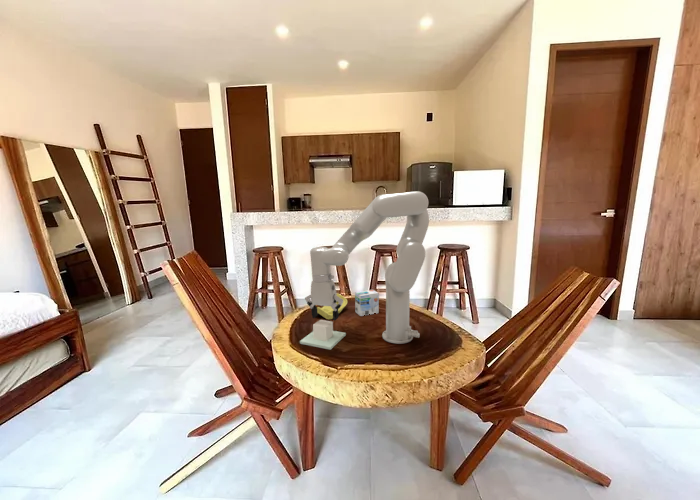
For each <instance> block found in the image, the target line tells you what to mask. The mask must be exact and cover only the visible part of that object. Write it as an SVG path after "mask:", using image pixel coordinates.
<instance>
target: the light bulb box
mask: <svg viewBox="0 0 700 500" xmlns="http://www.w3.org/2000/svg"><path fill="white" fill-rule="evenodd" d="M379 294H380V293H379V292H377V291H376V290H375V289H367V290H361V291H356V292H354V303H355V304H354V307H355V309H354V310H355V313H356V314H357V315H358V316H360V317H363V316H364V315H365V316H370V315H375V314H374V313H376V314H379V313H380V312H379V308H380V307H379V297H380V296H379ZM369 314H370V315H369Z"/></svg>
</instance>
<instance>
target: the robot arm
mask: <svg viewBox="0 0 700 500" xmlns="http://www.w3.org/2000/svg"><path fill="white" fill-rule="evenodd" d="M429 203H430V202H429V199H428V196H427V195H426V194H425V193H424V192H422V191H419V190H417V191H416V190H415V191H407V192H406V191H405V192H400V193H399V192H397V193H383V194H379V195H377V196H376V197H375V198H374V199H372V201H371V202H370V203H369V205H367V206H366V208H365V209H364V210H363V211H362V212H361V214H360V215H358V217H357V218H356V219H355V220H354V221H353V222H352V224H351V225H350V226H349V228H348V229H347V230H346V231H345V232H344V233H343V234H342V235H341V236H340V237H339V239H337V241H336V242H335V243H334V244H333V245H332V247H331V248H328V247H326V246H317V247H315V246H314V247H312V248H311V249H310V251H309V255H310V264H311V265H310V266H311V275H312V280H311V283H310V294H309V295H307V296H305V297H304V300H305V301H306V304H307V305H308V307H309V309H310V310H311V316H312V319H315V318H316V317H318V316H319V314H318V313H317V307H318V306H319V307H320V306H321V307H324V306H331V307H332V309H333V310H334V311H333V319H332V320H333V322H335V321H337V319H339V317H340V316H339V314H340V313H339V314H338V309H339V308H340V307H341V306H342V303H343V299H341V298H340V297H338V296H337V288H336V284H335V282H334V281H335V280H334V278H335V276H334V275H332V271H331V266H333V267H334V266H335V267H337V266H338V267H341V266H344V265H345V264H347V263H348V260H349V257H350V256H349V255H350V254H351V253H352V252H353V251H354V250H355V248H357V246H358V245H359V244H361V243H362V242H363V241H364V240H366V239H368V238H369V237H371V236H372V235H373V234H374V232H375V231H376V230H377V229H378V228H379V227H380V226H381V225H382V224H383V223H384V221H385V220H386V219H388V218H399V217H406V224H405V226H404V229H403V232H402V235H401V237H400V239H399V241H398V243H397V246H396V254H397V258H396V261H394V262H392V263H390V264H389V265H388V266H387V267H386V269H385V273H384V278H385V279H384V281H385V330H384V331H382V335H381V337H382V339H383V340H384V341H385V342H387V343H391V344H398V345H402V344H407V343H410V342H411V341H412V340H413V339H414V338H418V339H419V338H420V332H419V331H418V330H414V329H412V325H410V297H411V295H410V291H411V290H412V288H413V287H414V285H415V284H416V281H417V279H418V277H419V274H420V272H421V270H422V267H423V265H424V263H425V258H426V249H425V246H424V245H423V243H424V240H425V237H426V235H427V232H428V228H429V224H430V216H429V215H430V214H429V211H428V206H429ZM337 301H338V302H339V303H338V305H337V304H336V302H337Z"/></svg>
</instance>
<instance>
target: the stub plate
mask: <svg viewBox="0 0 700 500" xmlns="http://www.w3.org/2000/svg"><path fill="white" fill-rule="evenodd" d="M346 335H347V333H346V332H342V331H337V330H333V336H332V337H331V338H330V339H328V340H327V341H322V340H317V339H313V331H311V332H310V333H309V334H308V335H306V336H305V337H303V338H301V340H299V344H301V345H306V346H309V347H314V348H315V347H316V348H320V349H325V350H332V349H333V348H335V346H337V344H338V343H339V342H341V340H342V339H344V337H346Z"/></svg>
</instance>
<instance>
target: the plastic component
mask: <svg viewBox="0 0 700 500" xmlns="http://www.w3.org/2000/svg"><path fill="white" fill-rule="evenodd" d="M336 293H337V292H336ZM337 296H338V297H340V298H341V299H343V303H342V306H341V307H340V308H339V309H338V314H340V313H341V312H342V311H343V309H345V307H346V306H347V304H348V299H347V298H346V297H345V296H343V295H342V294H340V293H337ZM338 303H339V302H338V301H337V302H336V304H337V305H338ZM316 307H317V313H318V315H320V316H322V317H323V318H325V319H326V320H328V321H331V320H333V311H334V310H333V309H332V307H331V306H321V307H320V306H316Z"/></svg>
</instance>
